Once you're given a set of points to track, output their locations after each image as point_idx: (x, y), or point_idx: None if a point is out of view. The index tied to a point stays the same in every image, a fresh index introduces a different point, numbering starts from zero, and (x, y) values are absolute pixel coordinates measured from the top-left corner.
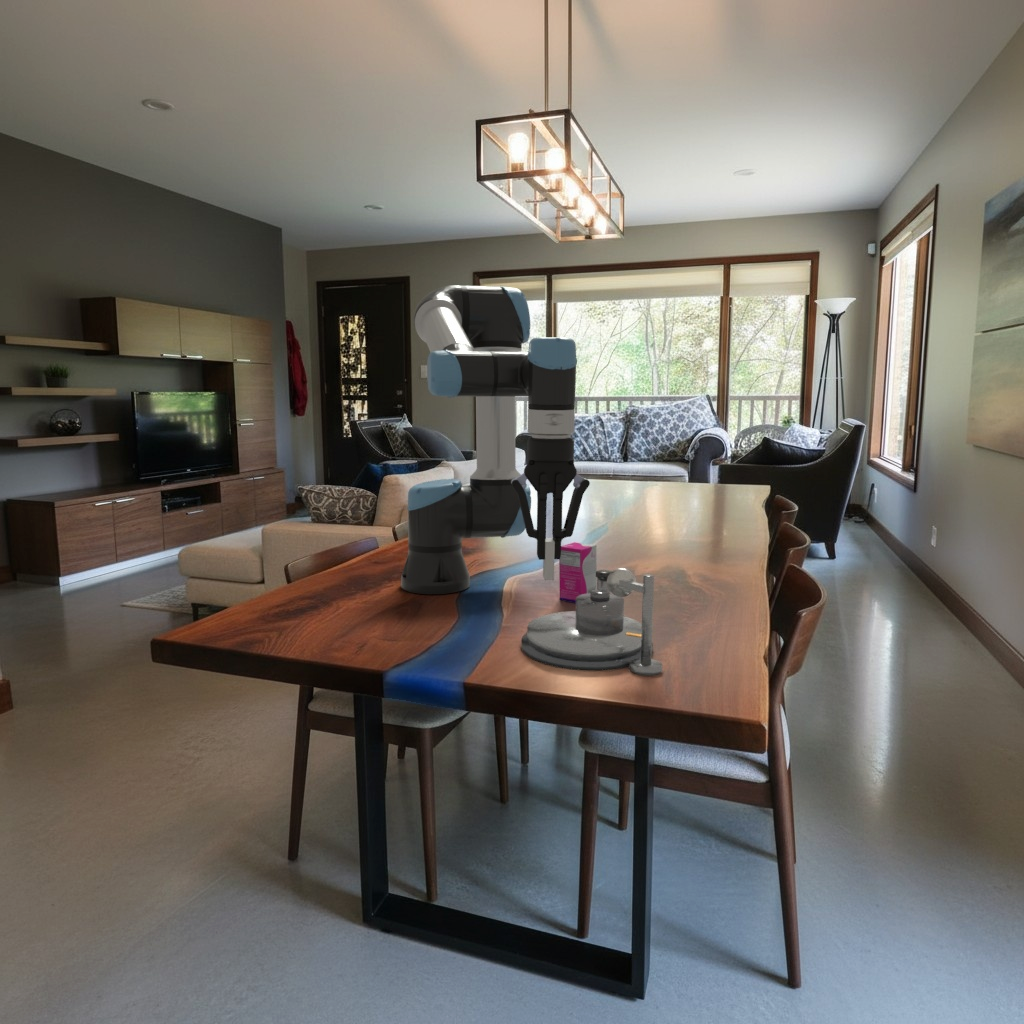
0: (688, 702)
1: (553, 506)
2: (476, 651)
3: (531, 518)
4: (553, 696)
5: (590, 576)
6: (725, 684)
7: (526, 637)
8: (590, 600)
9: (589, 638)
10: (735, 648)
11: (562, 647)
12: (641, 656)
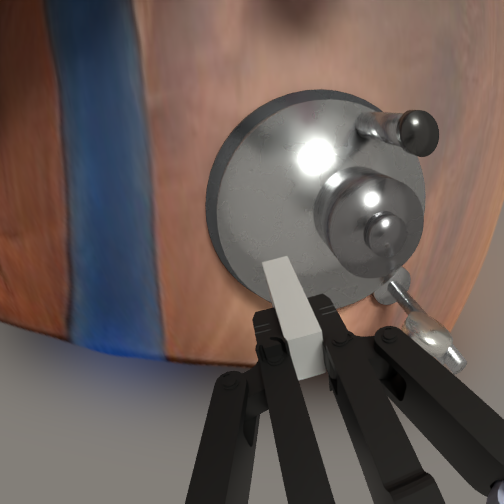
0: None
1: (368, 462)
2: (139, 258)
3: (252, 467)
4: None
5: None
6: (447, 299)
7: (213, 205)
8: (362, 244)
9: (334, 270)
10: (492, 188)
11: None
12: (392, 296)
